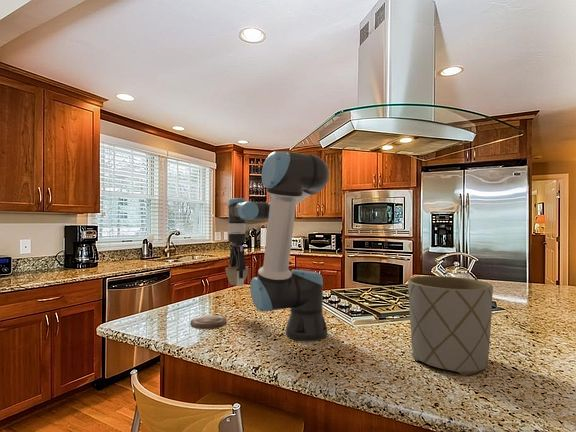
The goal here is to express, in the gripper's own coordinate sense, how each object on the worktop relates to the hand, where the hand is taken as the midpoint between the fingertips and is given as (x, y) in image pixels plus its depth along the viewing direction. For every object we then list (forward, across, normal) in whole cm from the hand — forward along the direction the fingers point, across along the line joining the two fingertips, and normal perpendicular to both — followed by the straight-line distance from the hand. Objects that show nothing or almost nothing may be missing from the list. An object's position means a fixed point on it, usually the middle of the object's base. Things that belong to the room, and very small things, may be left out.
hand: (236, 283), depth 152 cm
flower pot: (+1, 0, 0) cm, 1 cm away
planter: (+14, -74, -44) cm, 87 cm away
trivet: (+14, -8, +14) cm, 21 cm away
